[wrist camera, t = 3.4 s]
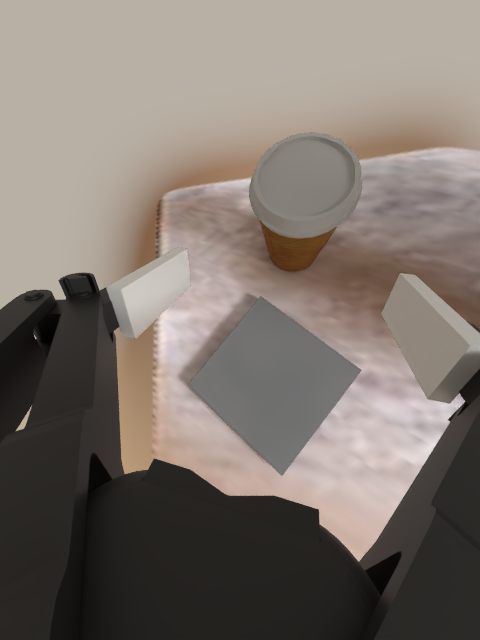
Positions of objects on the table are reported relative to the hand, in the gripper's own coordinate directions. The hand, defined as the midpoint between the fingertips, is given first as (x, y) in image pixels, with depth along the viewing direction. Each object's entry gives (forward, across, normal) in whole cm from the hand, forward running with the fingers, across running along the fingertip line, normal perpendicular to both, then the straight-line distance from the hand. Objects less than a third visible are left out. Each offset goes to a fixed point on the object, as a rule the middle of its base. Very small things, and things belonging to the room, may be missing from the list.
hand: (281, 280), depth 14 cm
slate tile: (+5, 0, -15) cm, 16 cm away
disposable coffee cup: (+17, 0, -3) cm, 18 cm away
